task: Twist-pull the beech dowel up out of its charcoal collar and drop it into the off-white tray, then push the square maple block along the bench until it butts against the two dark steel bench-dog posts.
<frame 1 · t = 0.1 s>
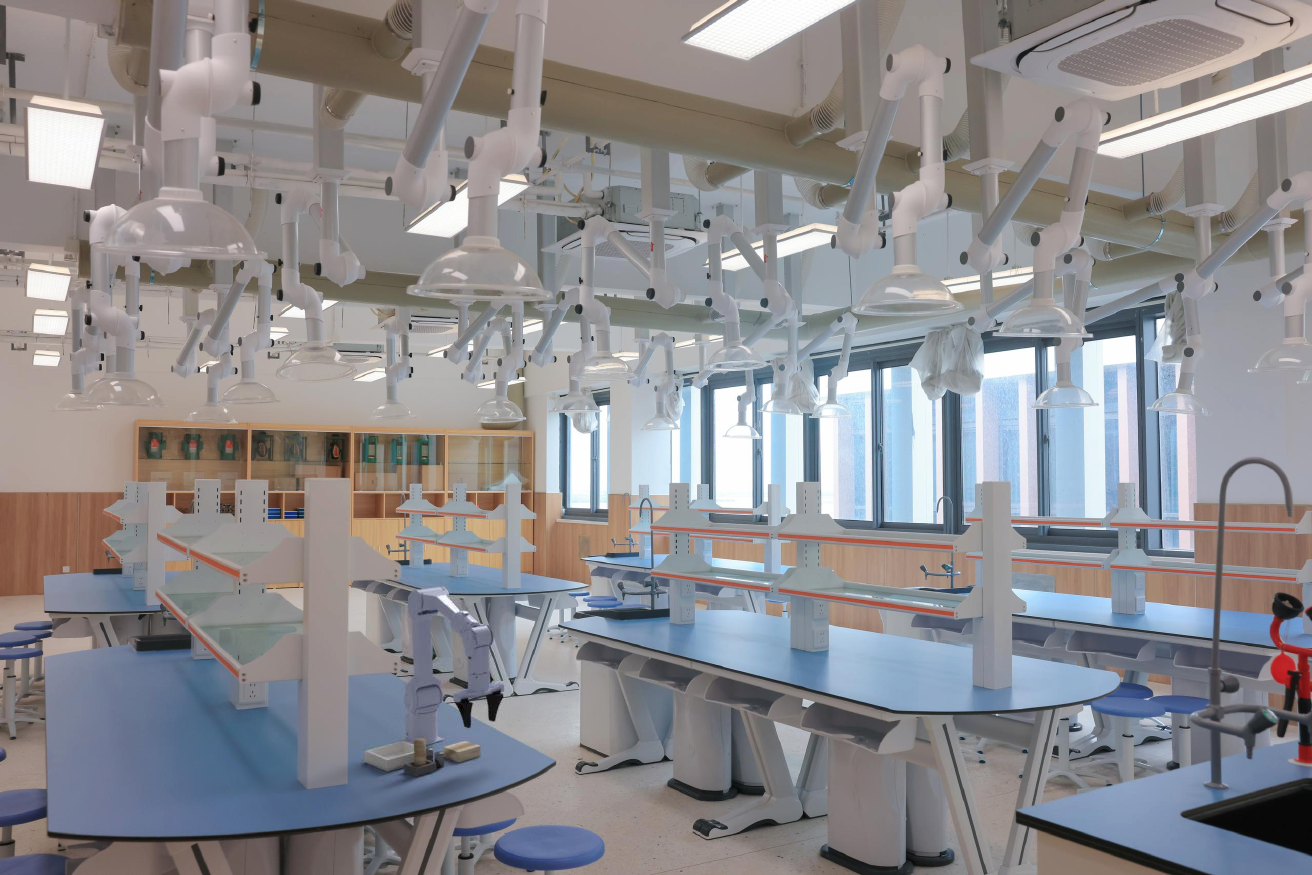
hand: (479, 723, 250), 10 cm above the table, fingers open, 7 cm apart
dowel collar: (420, 771, 243), on the table
maple block: (462, 757, 255), on the table
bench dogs: (434, 764, 249), on the table
dowel: (420, 755, 243), in the dowel collar
tray: (395, 761, 252), on the table
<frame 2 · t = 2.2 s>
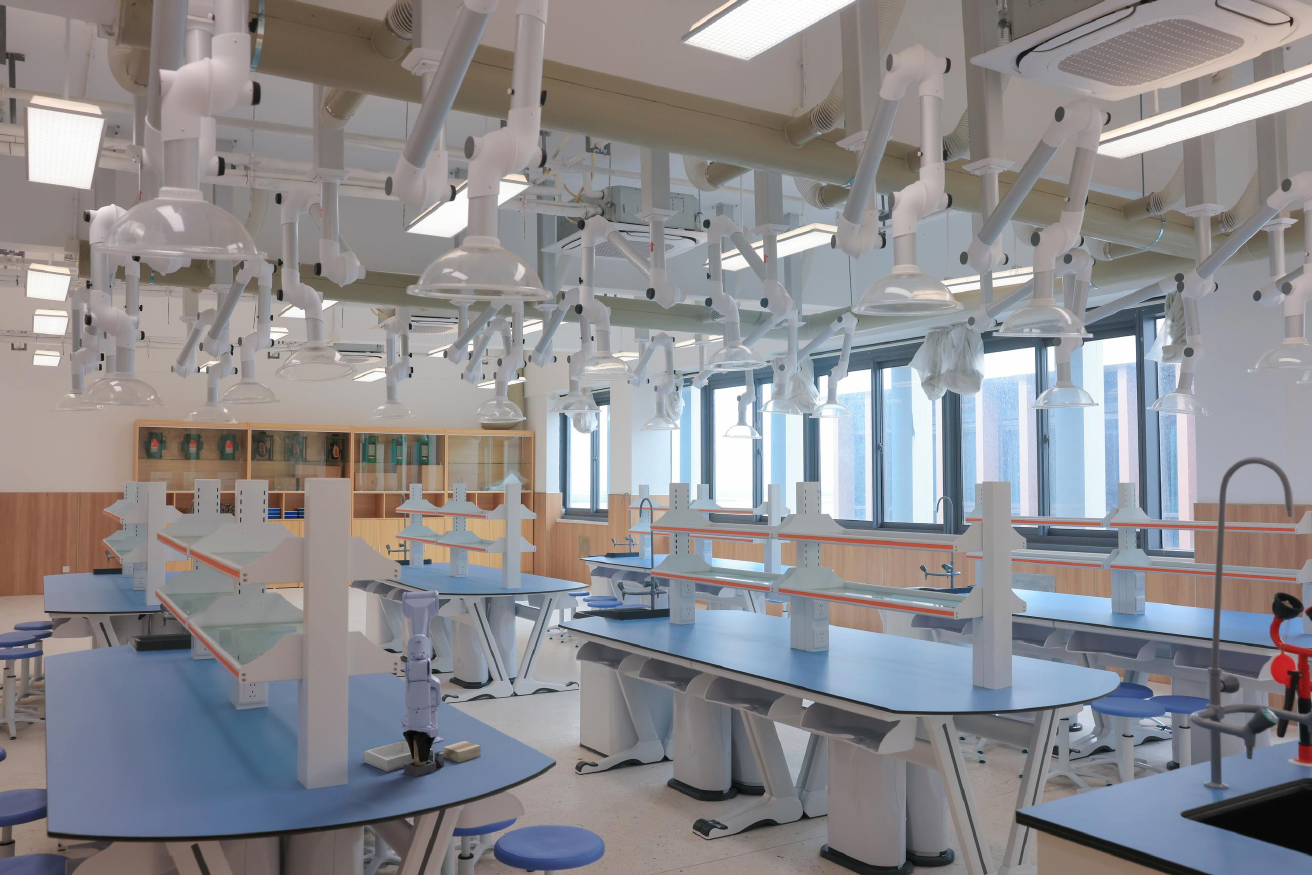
hand: (420, 759, 243), 3 cm above the table, fingers closed on dowel, 3 cm apart
dowel: (420, 755, 243), in the dowel collar, touching gripper
everything else where it was.
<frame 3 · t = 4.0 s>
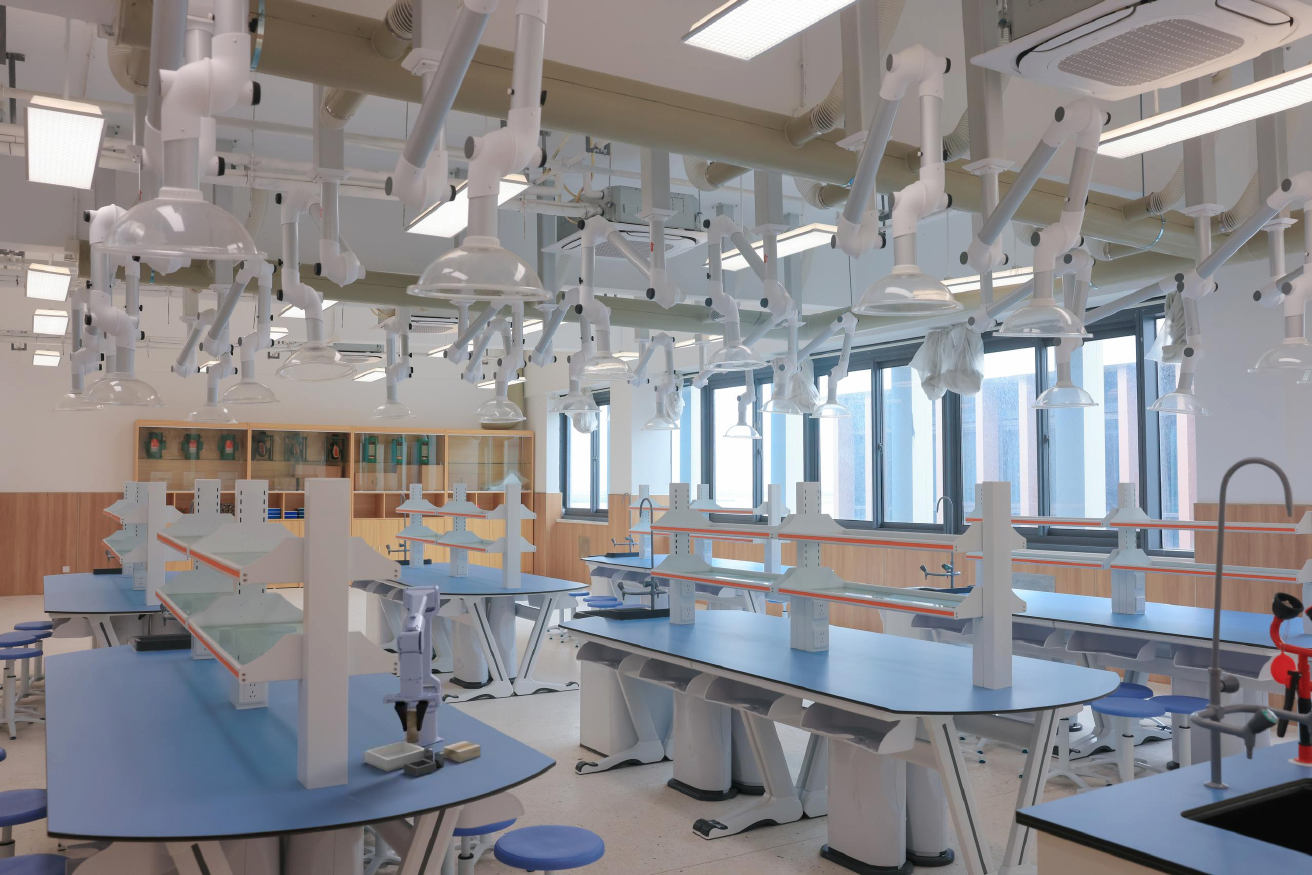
hand: (412, 730, 246), 10 cm above the table, fingers closed on dowel, 3 cm apart
dowel: (412, 726, 246), point 11 cm above the table, touching gripper
everything else where it was.
when the fingers open (5 cm above the table, at t = 5.8 s): dowel drops 1 cm, resting on tray.
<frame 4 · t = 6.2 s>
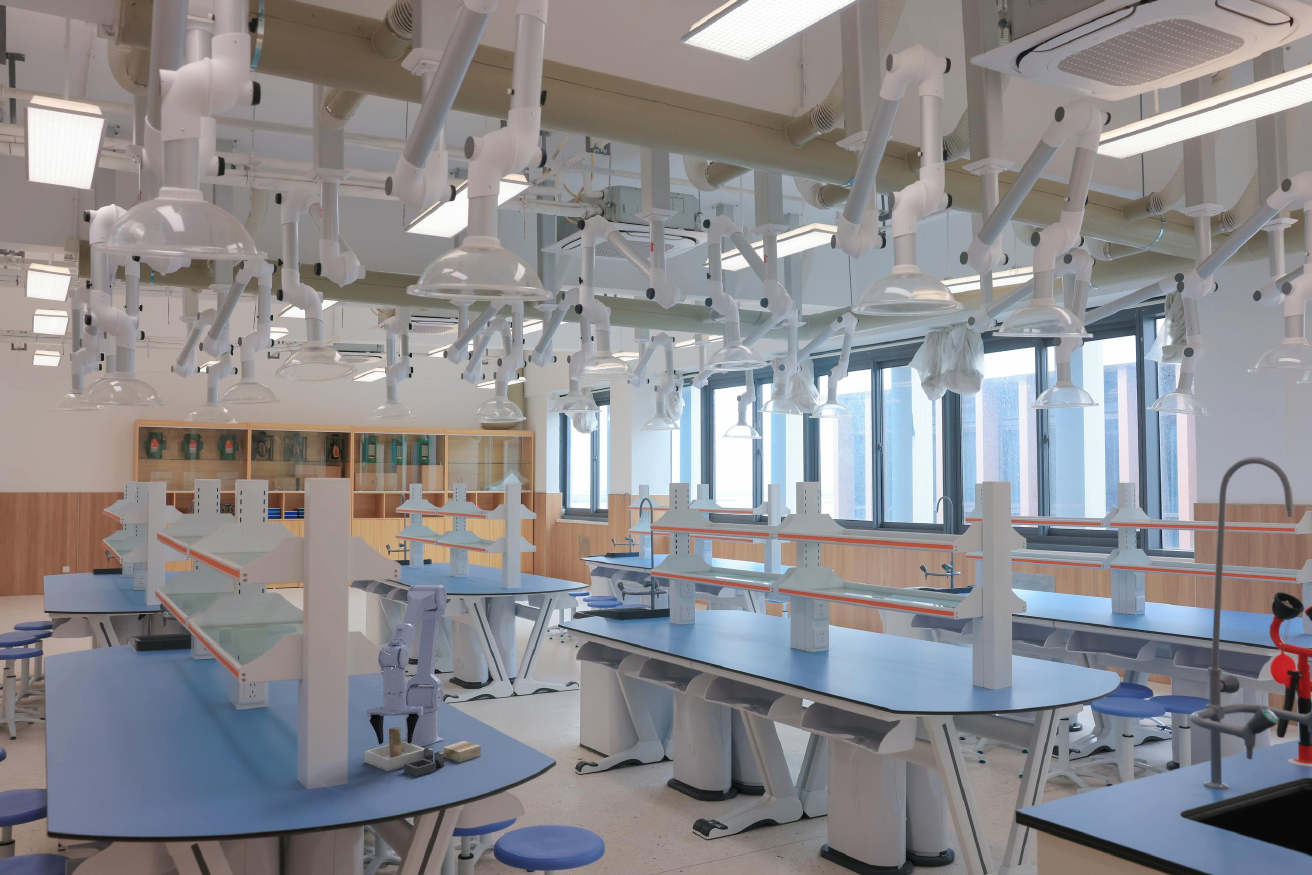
hand: (395, 742, 252), 5 cm above the table, fingers open, 7 cm apart
dowel: (395, 743, 252), in the tray, point 5 cm above the table
everything else where it was.
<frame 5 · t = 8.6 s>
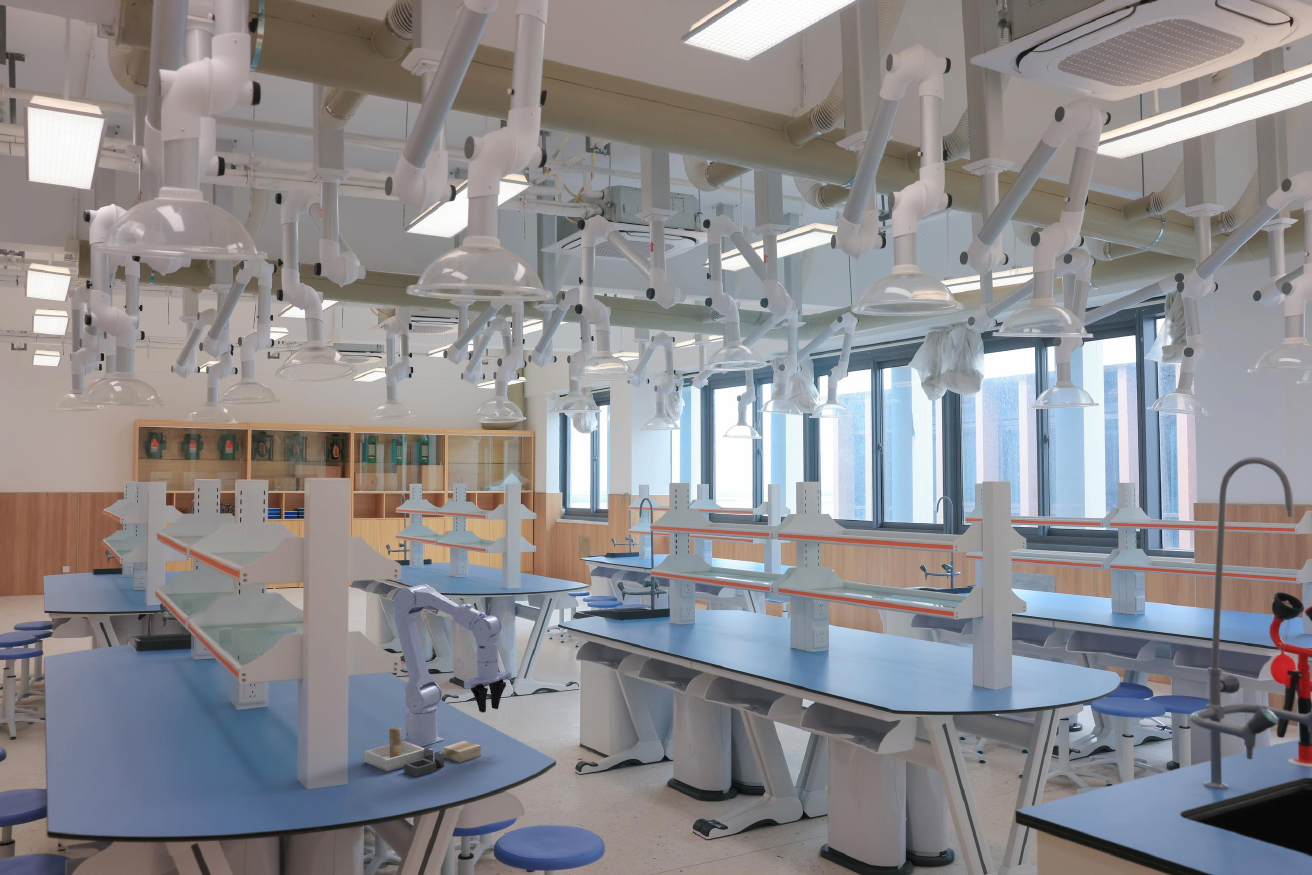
hand: (488, 710, 261), 10 cm above the table, fingers open, 4 cm apart
nothing on the table moved.
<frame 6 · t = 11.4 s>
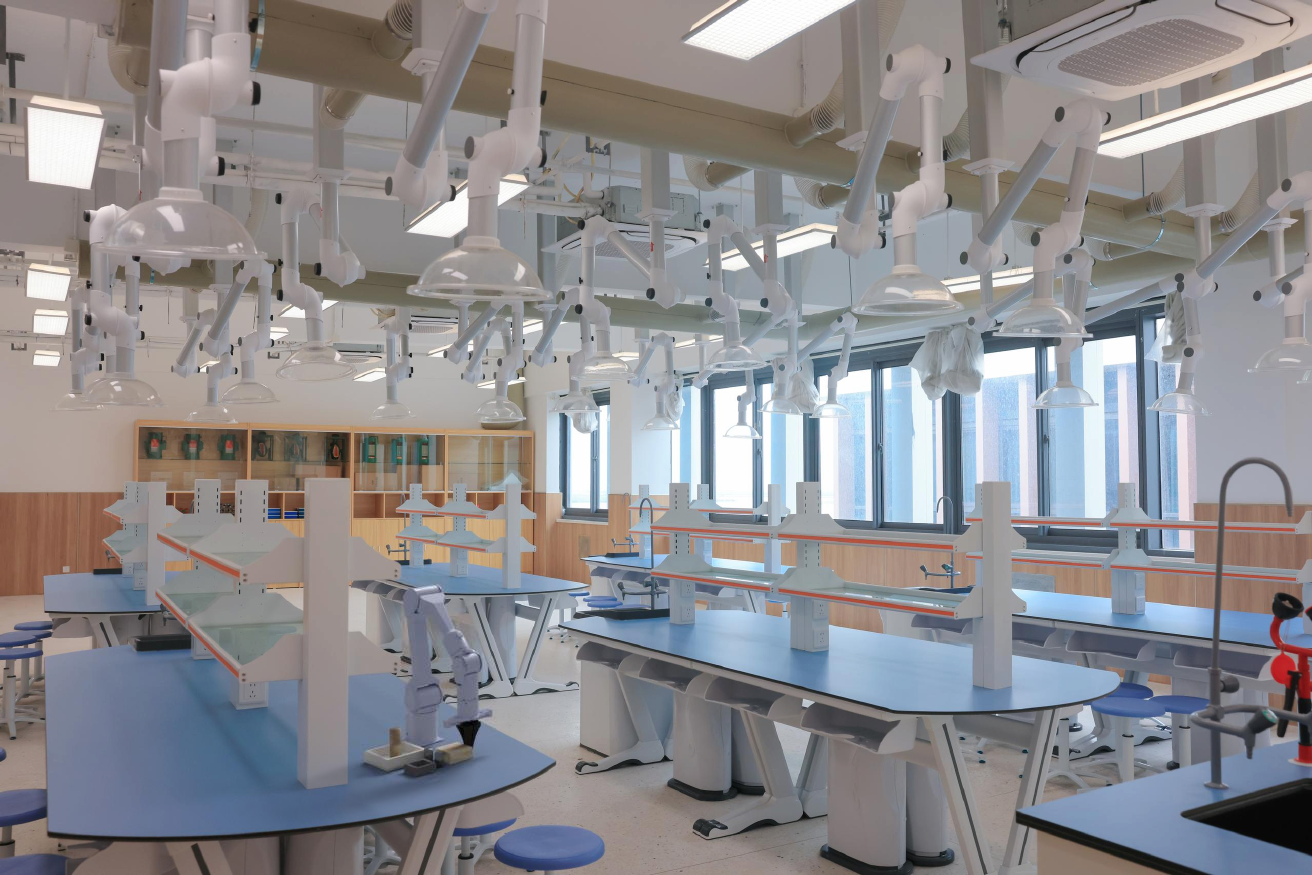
hand: (468, 748, 256), 1 cm above the table, fingers closed
maple block: (454, 758, 253), on the table
everything else where it was.
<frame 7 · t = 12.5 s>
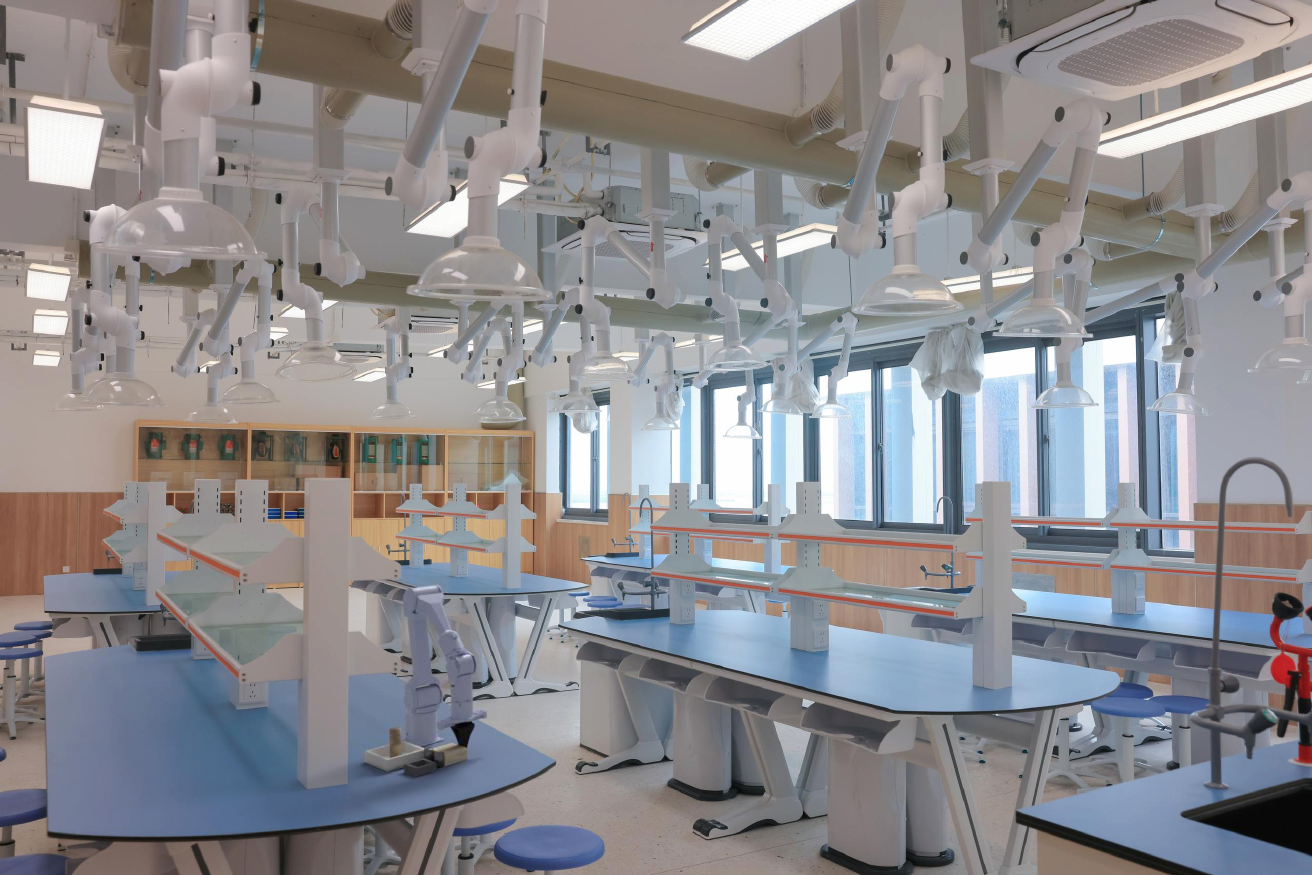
hand: (463, 750, 255), 1 cm above the table, fingers closed
maple block: (448, 759, 252), on the table, touching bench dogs, gripper
everything else where it was.
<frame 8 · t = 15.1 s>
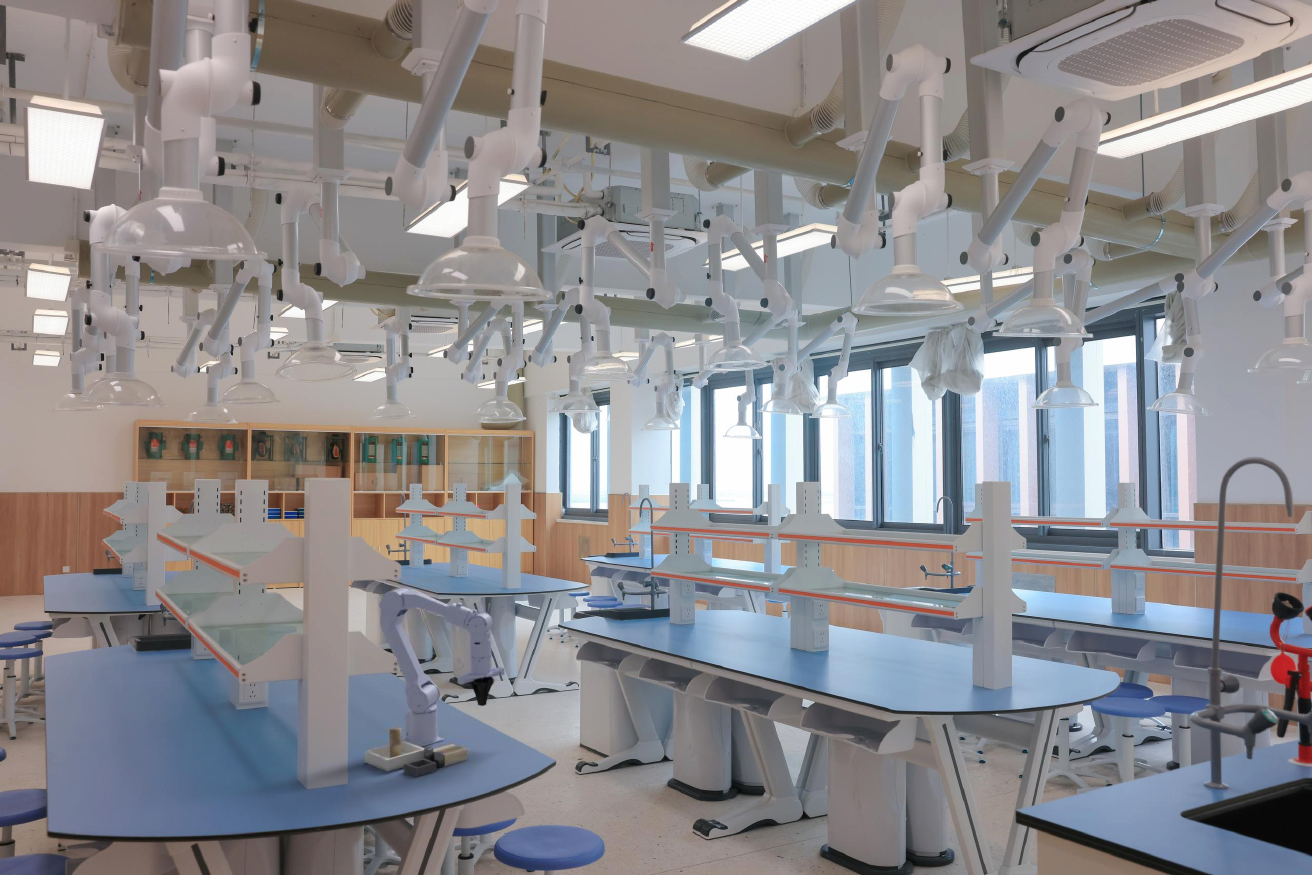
hand: (482, 704, 267), 10 cm above the table, fingers closed
maple block: (448, 760, 252), on the table
everything else where it was.
at the end: dowel inside the target area on the tray (0.0 cm from its centre), point 4.6 cm above the tray's base; the gripper is holding nothing; maple block 0.3 cm from the target spot, on the table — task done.
